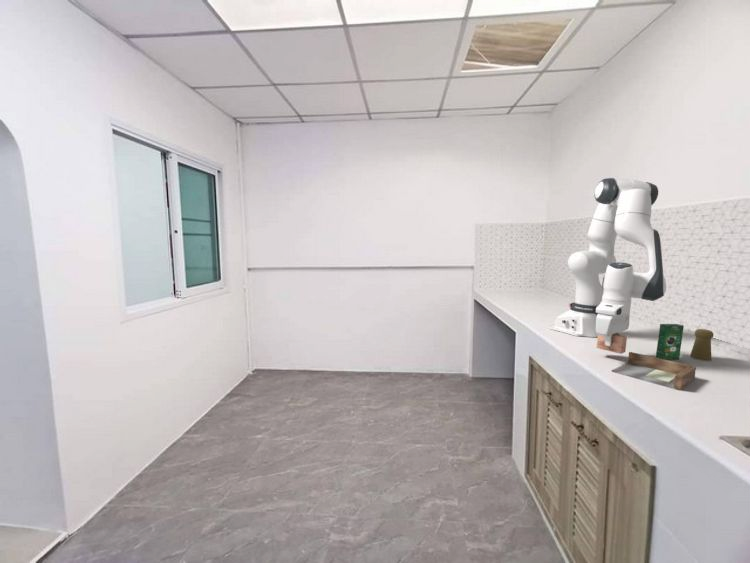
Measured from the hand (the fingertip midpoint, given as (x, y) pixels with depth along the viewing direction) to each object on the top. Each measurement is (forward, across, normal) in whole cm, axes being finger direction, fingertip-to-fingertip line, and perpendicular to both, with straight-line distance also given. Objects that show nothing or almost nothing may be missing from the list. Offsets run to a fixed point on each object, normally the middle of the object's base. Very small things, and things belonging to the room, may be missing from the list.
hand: (611, 344), depth 130 cm
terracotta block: (+2, 0, 0) cm, 2 cm away
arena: (+5, +7, +15) cm, 17 cm away
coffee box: (+6, -19, +12) cm, 23 cm away
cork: (+6, -31, +19) cm, 37 cm away
